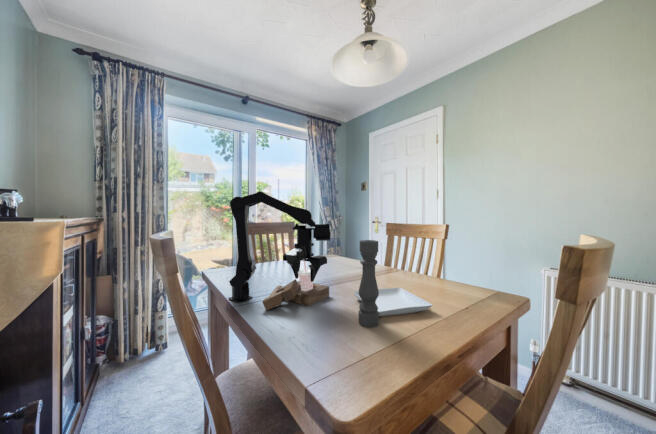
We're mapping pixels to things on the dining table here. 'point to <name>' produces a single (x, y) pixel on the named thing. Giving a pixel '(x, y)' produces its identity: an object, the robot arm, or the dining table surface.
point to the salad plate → (397, 302)
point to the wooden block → (281, 295)
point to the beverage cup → (305, 279)
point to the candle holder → (368, 285)
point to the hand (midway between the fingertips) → (304, 280)
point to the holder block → (311, 294)
